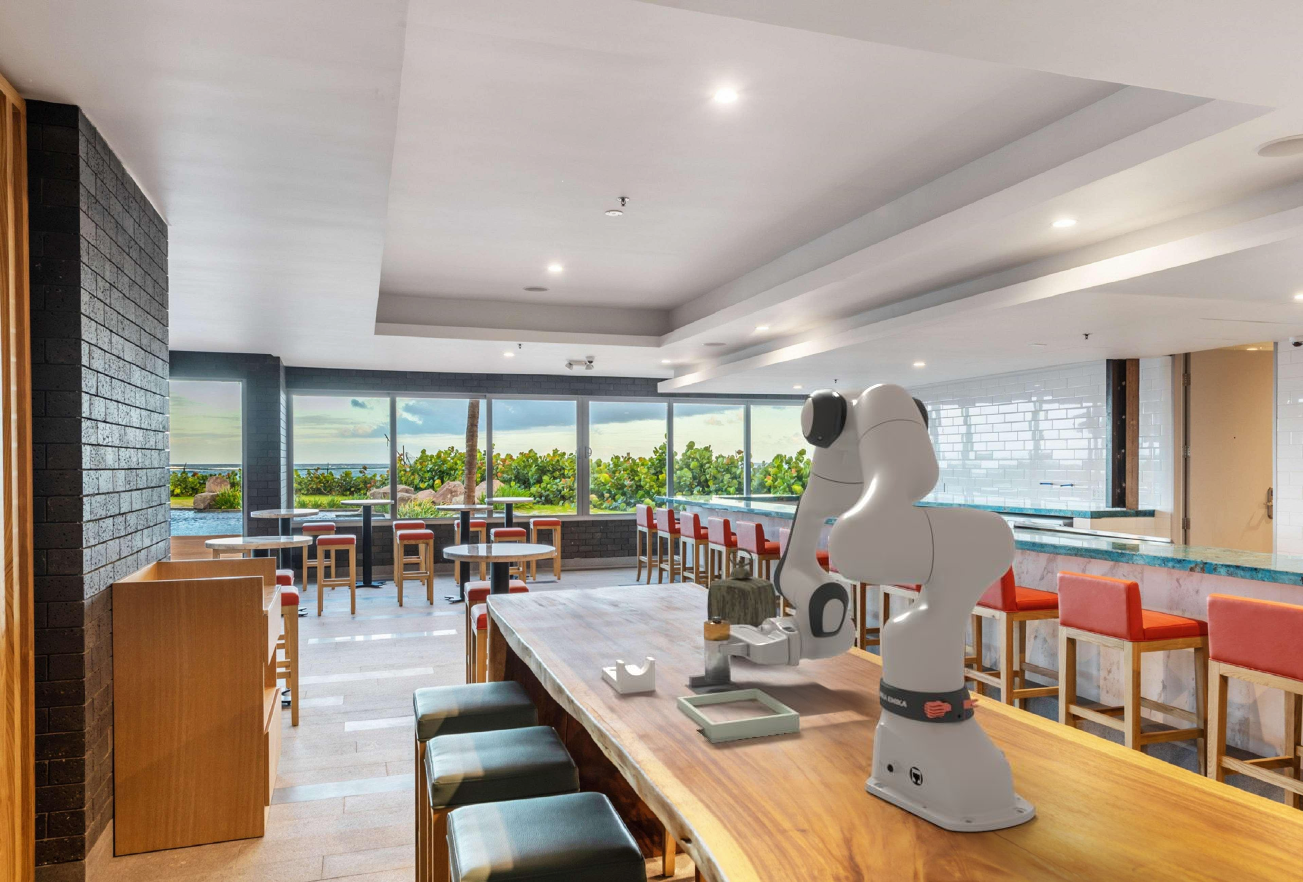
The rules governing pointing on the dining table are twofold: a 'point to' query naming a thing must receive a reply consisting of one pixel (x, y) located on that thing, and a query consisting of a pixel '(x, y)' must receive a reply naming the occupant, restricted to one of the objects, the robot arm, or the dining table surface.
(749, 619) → the tabletop clock
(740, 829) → the dining table surface
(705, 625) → the battery cell
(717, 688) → the block
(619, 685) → the bracket
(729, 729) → the tray
